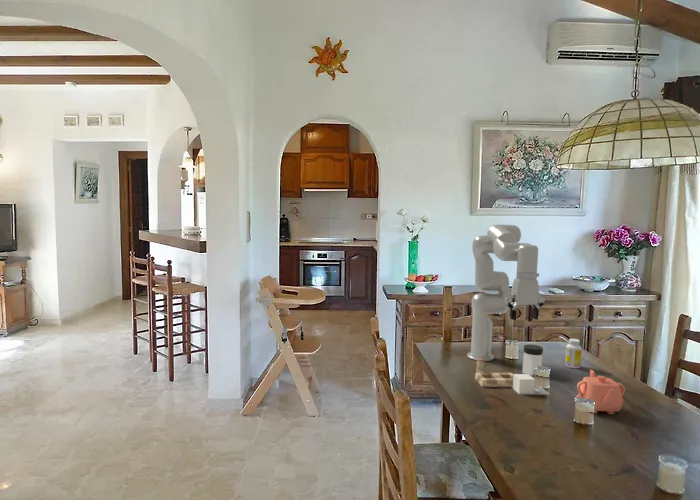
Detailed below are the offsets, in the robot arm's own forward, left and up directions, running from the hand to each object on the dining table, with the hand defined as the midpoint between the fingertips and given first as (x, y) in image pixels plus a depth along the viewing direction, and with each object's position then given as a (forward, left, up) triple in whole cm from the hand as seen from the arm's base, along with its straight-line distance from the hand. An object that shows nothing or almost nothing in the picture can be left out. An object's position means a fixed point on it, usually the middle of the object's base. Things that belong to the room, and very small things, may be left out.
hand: (523, 319), depth 202 cm
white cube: (-1, +2, -30) cm, 30 cm away
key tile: (-1, +5, -30) cm, 31 cm away
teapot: (+17, +24, -30) cm, 42 cm away
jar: (-23, +16, -30) cm, 41 cm away
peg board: (-10, -5, -30) cm, 32 cm away
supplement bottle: (-32, +40, -30) cm, 60 cm away
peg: (-17, -10, -30) cm, 36 cm away
